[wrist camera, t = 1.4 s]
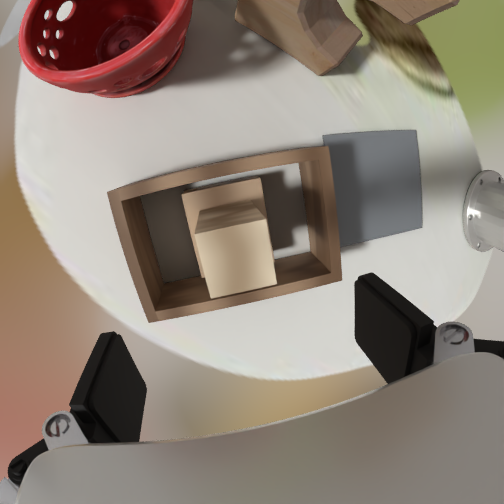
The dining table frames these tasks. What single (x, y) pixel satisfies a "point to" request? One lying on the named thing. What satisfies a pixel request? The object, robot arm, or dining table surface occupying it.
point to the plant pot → (104, 43)
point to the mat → (375, 183)
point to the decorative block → (322, 26)
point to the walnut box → (249, 188)
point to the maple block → (234, 248)
